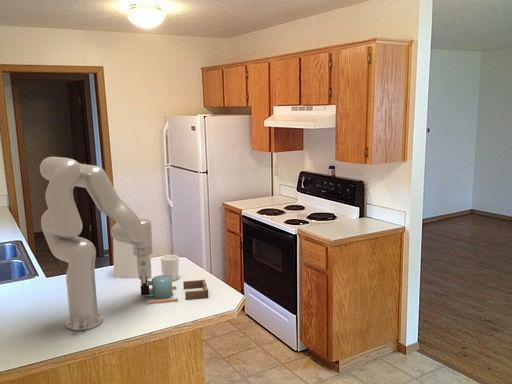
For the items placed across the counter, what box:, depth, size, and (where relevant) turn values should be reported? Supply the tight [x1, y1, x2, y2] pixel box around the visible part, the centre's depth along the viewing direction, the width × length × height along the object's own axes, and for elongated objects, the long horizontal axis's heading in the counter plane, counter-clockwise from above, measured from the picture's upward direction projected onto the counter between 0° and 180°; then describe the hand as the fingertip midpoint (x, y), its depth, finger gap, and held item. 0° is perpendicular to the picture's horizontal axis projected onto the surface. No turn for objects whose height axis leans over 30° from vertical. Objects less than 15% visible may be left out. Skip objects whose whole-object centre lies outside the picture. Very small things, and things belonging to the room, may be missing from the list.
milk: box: [112, 238, 139, 279], centre depth 214 cm, size 12×12×26 cm
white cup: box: [160, 254, 180, 282], centre depth 209 cm, size 8×8×10 cm
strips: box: [146, 285, 179, 305], centre depth 191 cm, size 14×12×1 cm
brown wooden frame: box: [182, 279, 209, 301], centre depth 194 cm, size 12×9×3 cm
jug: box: [142, 274, 174, 300], centre depth 190 cm, size 8×12×8 cm
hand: (145, 292), depth 189 cm, fingers open, 3 cm apart
